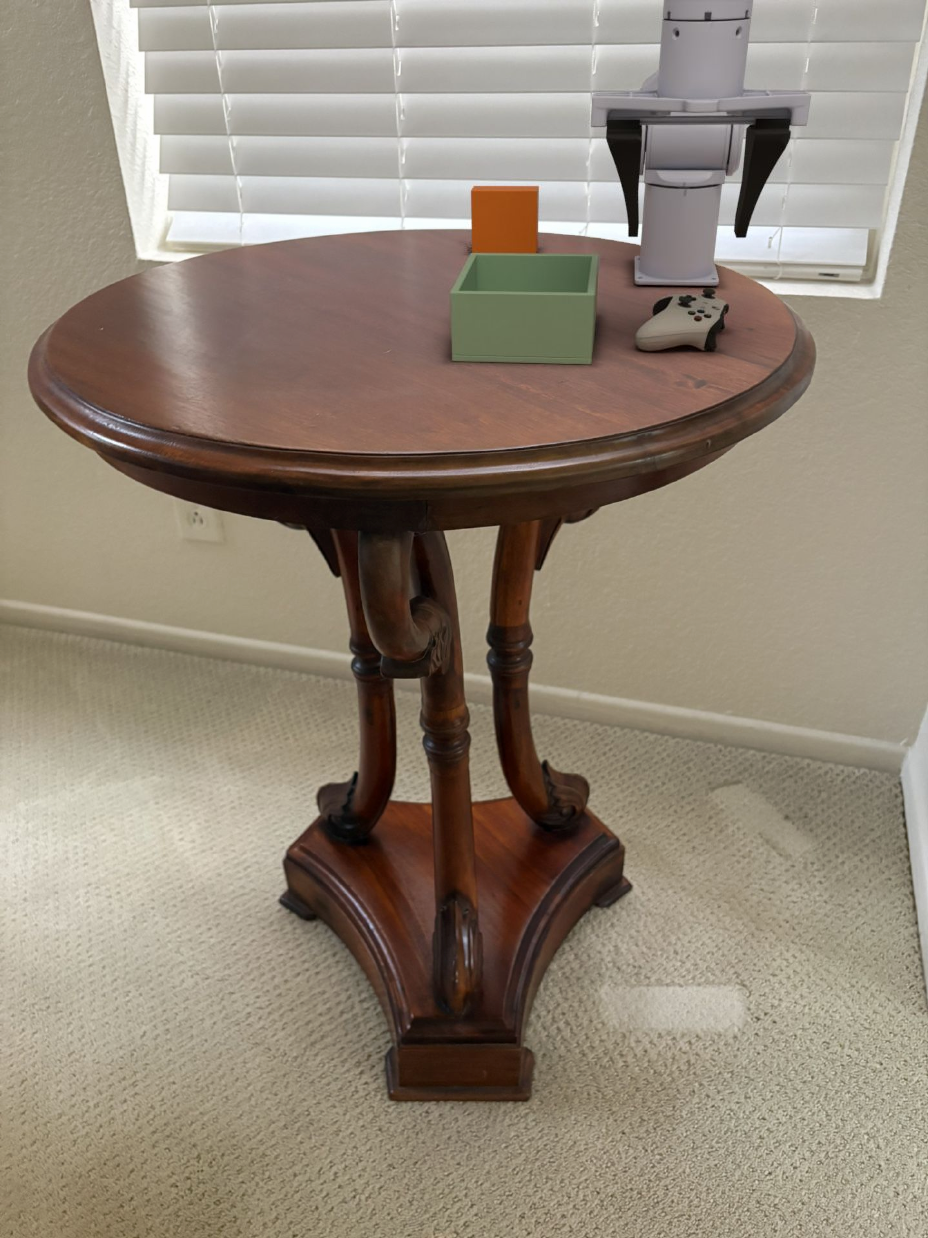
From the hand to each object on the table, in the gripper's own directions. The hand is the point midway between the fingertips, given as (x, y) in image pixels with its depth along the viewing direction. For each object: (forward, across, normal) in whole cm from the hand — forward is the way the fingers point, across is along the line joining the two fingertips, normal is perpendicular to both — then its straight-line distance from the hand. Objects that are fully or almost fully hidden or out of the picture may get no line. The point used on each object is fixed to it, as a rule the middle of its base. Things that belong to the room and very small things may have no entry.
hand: (686, 234), depth 74 cm
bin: (+10, -12, +6) cm, 17 cm away
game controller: (+10, +1, +7) cm, 12 cm away
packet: (+10, -17, +35) cm, 40 cm away
